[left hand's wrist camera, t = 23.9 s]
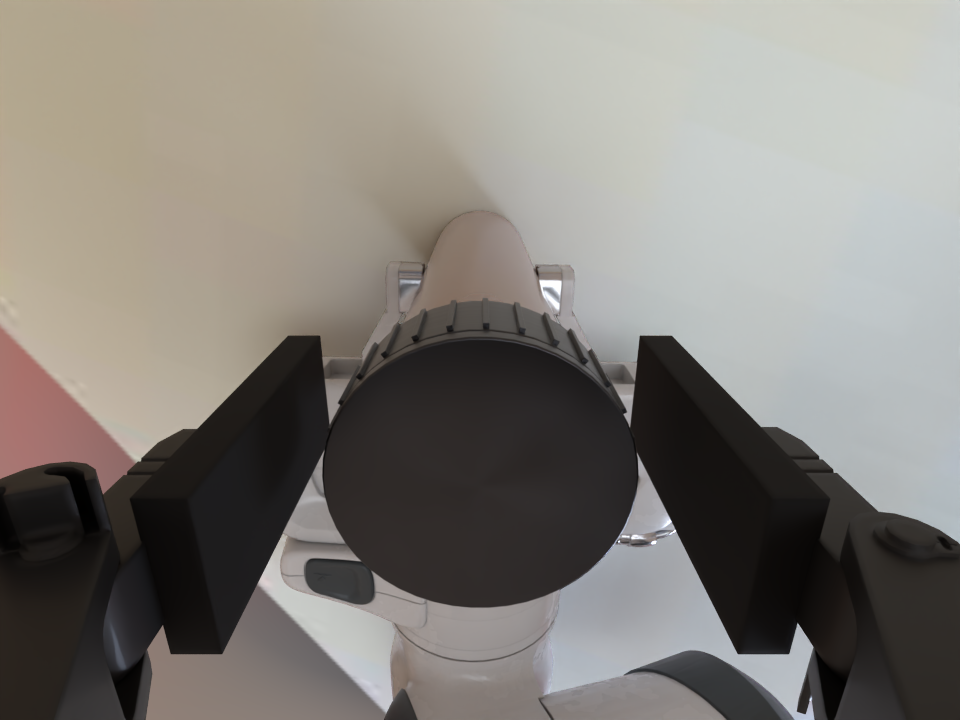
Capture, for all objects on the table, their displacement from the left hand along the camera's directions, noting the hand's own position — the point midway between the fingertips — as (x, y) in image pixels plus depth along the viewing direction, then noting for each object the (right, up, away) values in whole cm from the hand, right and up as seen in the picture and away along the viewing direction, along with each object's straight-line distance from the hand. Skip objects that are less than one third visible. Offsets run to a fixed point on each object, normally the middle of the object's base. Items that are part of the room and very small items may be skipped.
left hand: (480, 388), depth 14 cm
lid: (0, -1, -4) cm, 4 cm away
